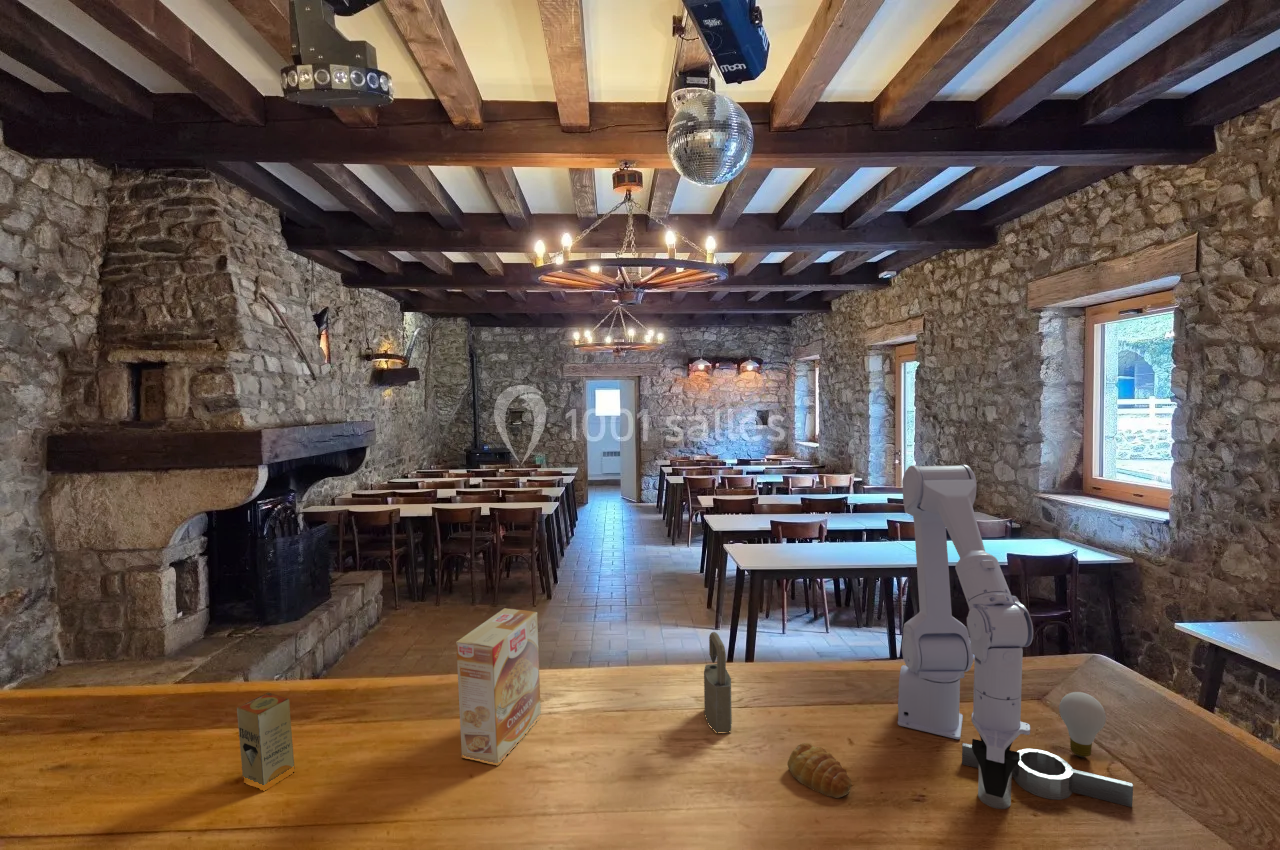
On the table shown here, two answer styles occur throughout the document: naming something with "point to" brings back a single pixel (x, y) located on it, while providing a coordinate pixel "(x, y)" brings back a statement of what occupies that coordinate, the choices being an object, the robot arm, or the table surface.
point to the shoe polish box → (265, 738)
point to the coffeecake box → (498, 683)
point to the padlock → (717, 687)
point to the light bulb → (1082, 720)
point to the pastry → (819, 770)
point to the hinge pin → (994, 800)
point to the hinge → (1059, 777)
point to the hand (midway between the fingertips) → (994, 782)
